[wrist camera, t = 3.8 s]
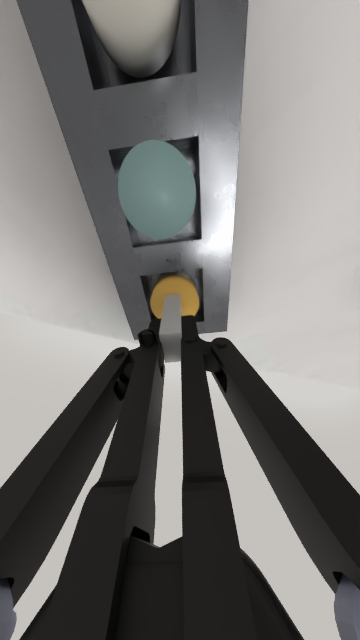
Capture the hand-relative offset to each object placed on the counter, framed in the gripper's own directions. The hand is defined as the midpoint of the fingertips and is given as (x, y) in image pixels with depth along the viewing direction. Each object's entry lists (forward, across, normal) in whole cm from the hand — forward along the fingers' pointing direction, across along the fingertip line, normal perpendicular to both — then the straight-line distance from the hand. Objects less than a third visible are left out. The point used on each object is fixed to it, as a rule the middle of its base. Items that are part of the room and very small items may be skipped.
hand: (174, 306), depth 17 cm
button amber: (+4, 0, 0) cm, 4 cm away
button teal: (+2, 0, +9) cm, 9 cm away
